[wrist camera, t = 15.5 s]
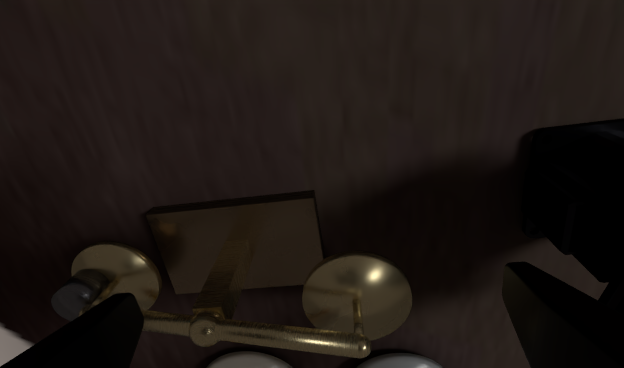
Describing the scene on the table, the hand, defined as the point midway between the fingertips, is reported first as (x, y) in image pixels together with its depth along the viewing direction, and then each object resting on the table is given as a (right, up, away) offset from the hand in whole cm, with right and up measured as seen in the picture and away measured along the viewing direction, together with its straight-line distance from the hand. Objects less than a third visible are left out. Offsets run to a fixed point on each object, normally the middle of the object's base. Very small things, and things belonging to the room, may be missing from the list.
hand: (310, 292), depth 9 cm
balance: (-4, -1, +14) cm, 15 cm away
